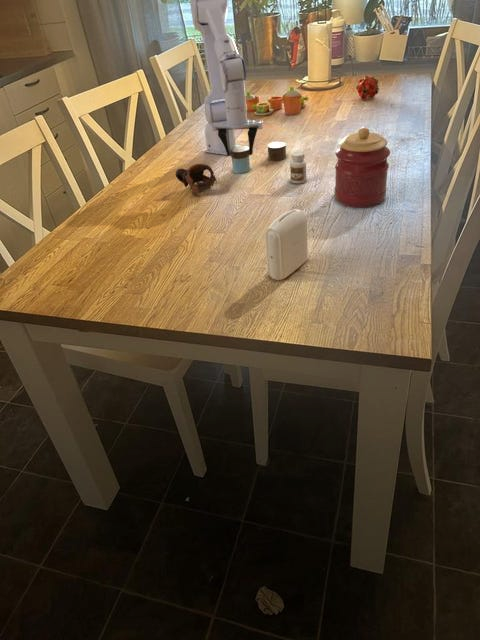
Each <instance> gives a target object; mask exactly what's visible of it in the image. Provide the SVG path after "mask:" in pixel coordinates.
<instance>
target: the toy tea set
mask: <svg viewBox="0 0 480 640" xmlns="http://www.w3.org/2000/svg"><path fill="white" fill-rule="evenodd" d="M245 99H246V111H249V112H254V114H255V115H256V116H262V117H263V116H268V115H270V114H272V113H273V112H274V110H281V109H282V108H283V109H284V113H285V114H286V115H289V116H291V115H294V116H295V115H298V114H300V112H301V108H304V107H306V106H307V103H306V102H307V101H309V97H308V96H304V95H303V94H302V93H301V92H300V91H299V90H297V89H295V88H294V86H293V85H291V86H290V87H289V89H288V90H286V91H285V92H284V93H283V94H282V95H273V96H270V97H268V98H267V102H263V101H262V102H260V96H258V95H253V94H251V92H250V91H246V94H245ZM305 101H306V102H305Z"/></svg>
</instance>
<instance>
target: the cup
mask: <svg viewBox="0 0 480 640" xmlns="http://www.w3.org/2000/svg"><path fill="white" fill-rule="evenodd" d="M250 162H251V161H250V155H249V156H248V157H246V158H243V159H234V158H232V157H231V164H232V171H233V173H235V174H247V173H248V172H250V170H251V164H250Z"/></svg>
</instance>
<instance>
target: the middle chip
mask: <svg viewBox="0 0 480 640" xmlns="http://www.w3.org/2000/svg"><path fill="white" fill-rule="evenodd" d="M284 152H286V153H287V143H285V142H284V141H283V142H282V141H274V142H270V143H268V144H267V154H268V153H270V154H282V153H284Z"/></svg>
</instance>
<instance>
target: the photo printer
mask: <svg viewBox="0 0 480 640" xmlns="http://www.w3.org/2000/svg"><path fill="white" fill-rule="evenodd" d="M265 242H266V243H265V244H266V257H267V272H268V276H270V278H271V279H273V280H275V281H276V280H277V281H282V280H284V279H287V277H289V276H290V275H292V274H293V273H294V272H295V271H296V270H298V269H299V268H300V267H301V266H302V265H303V264H305V262H306V261H307V260H308V255H309V253H308V251H309V250H308V249H309V248H308V217H307V215H306V212H304V210H301V209H298V208H296V209H295V208H294V209H290V210H287V211H286V212H283V213H282V214H280V215H279V216H278V217H276V219H275V220H273V222H272V223H271V224H270V225H269V226H268V227H267V229H266V231H265Z"/></svg>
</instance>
